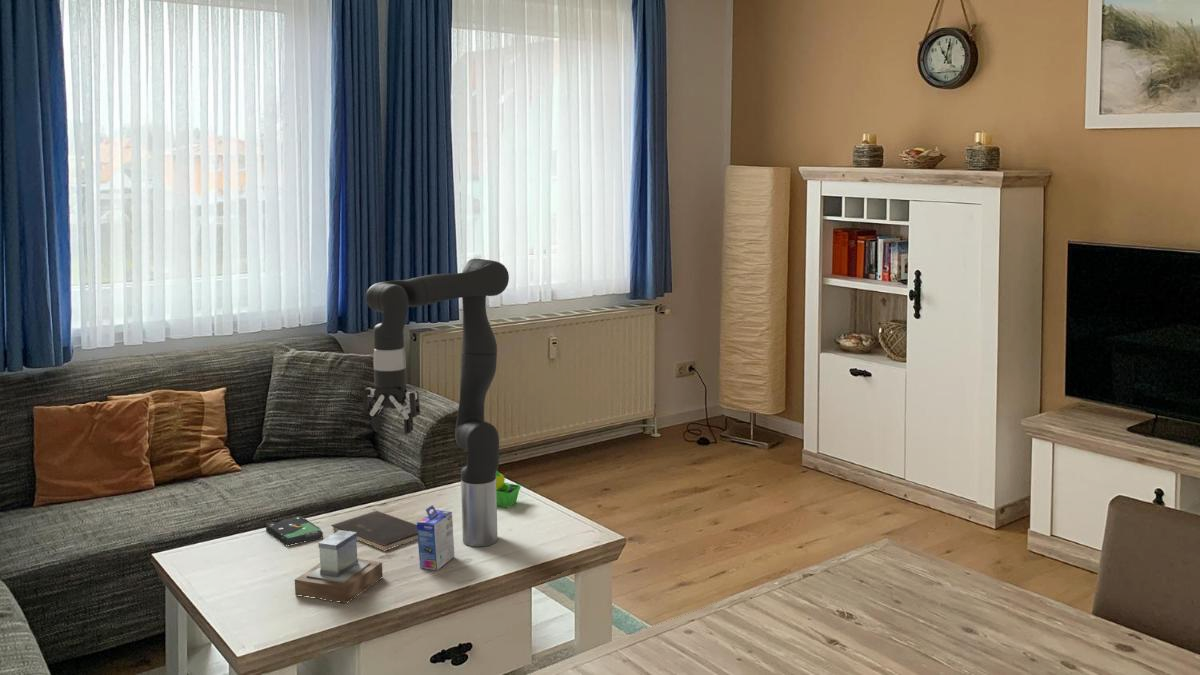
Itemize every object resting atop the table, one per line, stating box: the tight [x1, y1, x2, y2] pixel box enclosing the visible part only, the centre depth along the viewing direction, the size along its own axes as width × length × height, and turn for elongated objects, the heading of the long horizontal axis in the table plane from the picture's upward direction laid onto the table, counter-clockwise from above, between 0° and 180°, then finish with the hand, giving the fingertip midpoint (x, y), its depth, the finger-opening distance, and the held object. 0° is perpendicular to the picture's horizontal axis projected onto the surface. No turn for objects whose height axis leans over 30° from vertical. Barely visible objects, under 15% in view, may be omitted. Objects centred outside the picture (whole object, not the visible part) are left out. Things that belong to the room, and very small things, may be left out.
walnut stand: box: [294, 558, 384, 604], centre depth 260 cm, size 16×14×4 cm
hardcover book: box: [331, 510, 418, 551], centre depth 295 cm, size 16×23×2 cm
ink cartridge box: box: [416, 505, 455, 571], centre depth 274 cm, size 10×6×14 cm, turn 161°
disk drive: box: [265, 515, 324, 547], centre depth 295 cm, size 10×3×15 cm
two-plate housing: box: [318, 530, 359, 578], centre depth 259 cm, size 5×9×8 cm, turn 161°
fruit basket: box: [496, 470, 522, 508], centre depth 318 cm, size 11×9×11 cm
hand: (392, 431), depth 262 cm, fingers open, 8 cm apart
